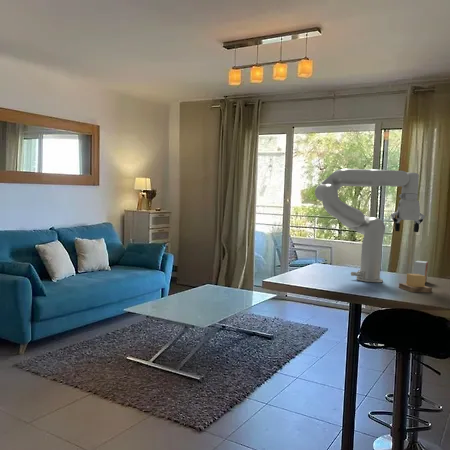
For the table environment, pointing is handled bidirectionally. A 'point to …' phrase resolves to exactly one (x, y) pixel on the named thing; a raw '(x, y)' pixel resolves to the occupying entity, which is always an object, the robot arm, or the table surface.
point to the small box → (421, 268)
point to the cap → (415, 280)
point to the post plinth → (414, 288)
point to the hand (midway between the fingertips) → (406, 231)
